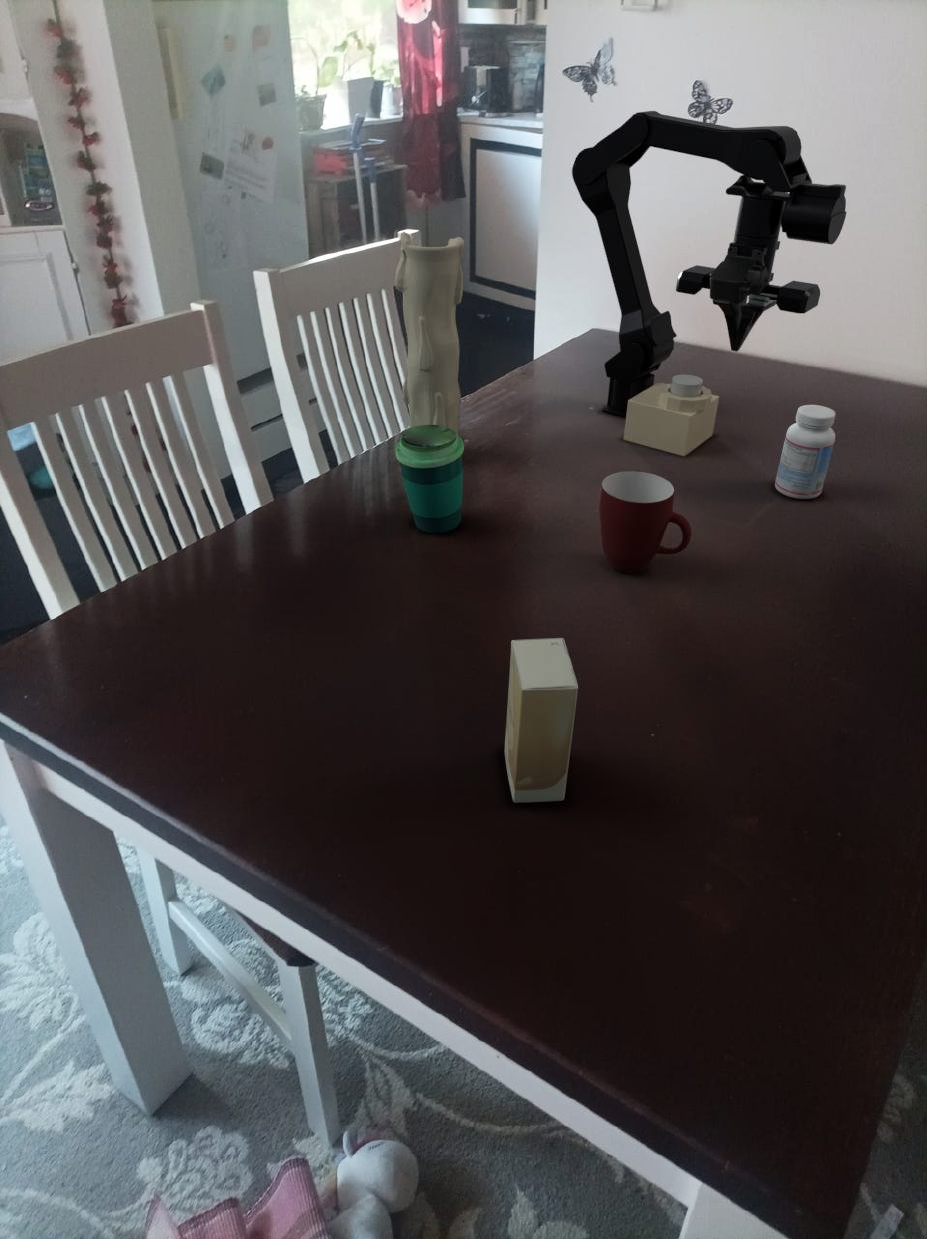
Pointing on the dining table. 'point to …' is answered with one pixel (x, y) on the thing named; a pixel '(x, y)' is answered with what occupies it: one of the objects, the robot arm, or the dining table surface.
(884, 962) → the dining table surface
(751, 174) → the robot arm
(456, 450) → the cup
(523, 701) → the cosmetic box
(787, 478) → the pill bottle
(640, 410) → the block
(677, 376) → the cylinder
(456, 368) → the vase
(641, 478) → the mug
